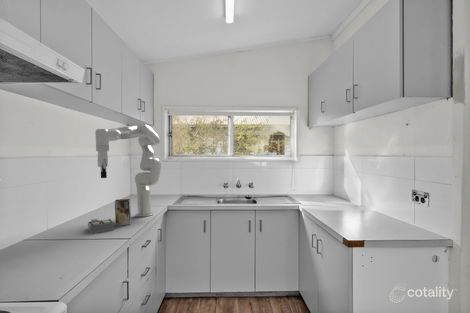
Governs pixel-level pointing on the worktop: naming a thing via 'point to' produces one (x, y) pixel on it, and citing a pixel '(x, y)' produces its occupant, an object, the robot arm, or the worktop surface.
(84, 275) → the worktop surface
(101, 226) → the keyguard
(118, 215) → the coffee box
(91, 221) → the key slate
